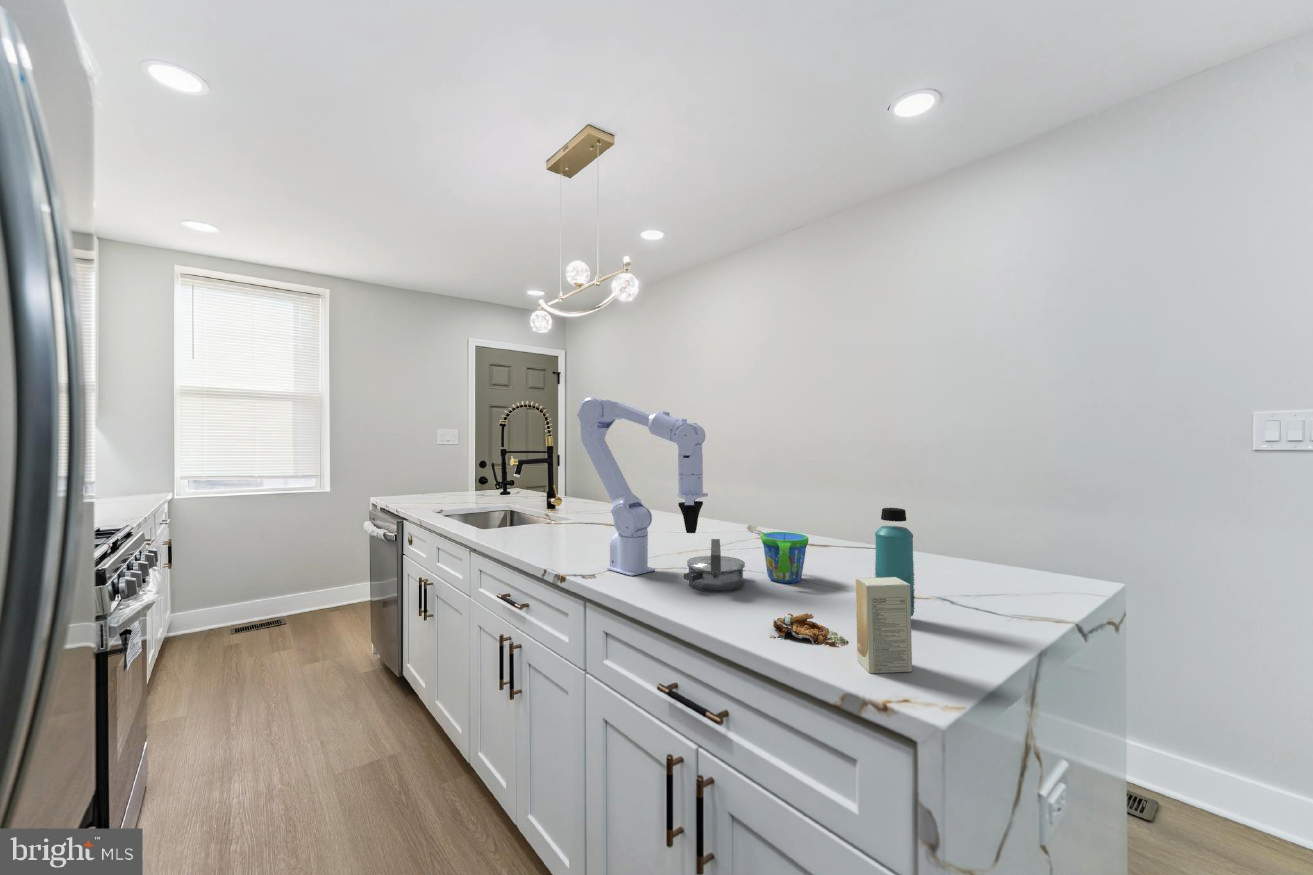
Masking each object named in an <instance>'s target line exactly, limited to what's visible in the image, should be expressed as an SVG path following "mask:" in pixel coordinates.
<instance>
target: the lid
mask: <svg viewBox="0 0 1313 875" xmlns="http://www.w3.org/2000/svg"><path fill="white" fill-rule="evenodd" d="M710 543H711V544H710V555H701V556H695V557H691V558H689V559H687V560H686V565H687V567H688V569H689V568H691V569H694V570H699V571H705V572H733V571H738V570H741V569H743V570H744V568H745V567H744V562H745V561H744V560H743V559H740V558H737V557H733V556H732V557H731V556H725V555H721V553H722V552H721V540H720V538H711V541H710Z"/></svg>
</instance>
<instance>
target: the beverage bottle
mask: <svg viewBox="0 0 1313 875" xmlns="http://www.w3.org/2000/svg"><path fill="white" fill-rule="evenodd" d="M880 515H881V516H880V520H882V521H886V522H906V521H907V514H906V509H904V508H900V507H884V508H882V509H881V514H880ZM874 537H875V561H874V575H875V578H879V577H897V578H899V579H901V580H902V581H904V582H906V583H908V584H910V602H911V617H913V616H914V613H915V608H916V606H915V605H916V602H915V601H916V600H915V599H916V594H915V592H916V588H915V587H914V586H915V581H916V579H915V575H916V574H915V571H914V570H915V562H914V534H913V533H912V531H910V530H909V529H908V528H907V527H905V526H899V525H883V526H880V527H879V528H878V529H877V530H875V532H874Z"/></svg>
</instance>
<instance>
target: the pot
mask: <svg viewBox="0 0 1313 875" xmlns="http://www.w3.org/2000/svg"><path fill="white" fill-rule="evenodd" d="M745 563H746V562H745V561H744V568H745V567H746V566H745V565H746V564H745ZM744 568H743V569H741V570H738V571H733V572H705V571H699V570H694V569H691V568H689V567H688V572H684V573H683V580H685V581H688V587H690V588H692V589H693V590H696V591H700V592H706V593H730V592H732V593H733V592H737V591H739V590H741V589H743V588H744Z"/></svg>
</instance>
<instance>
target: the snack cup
mask: <svg viewBox="0 0 1313 875" xmlns="http://www.w3.org/2000/svg"><path fill="white" fill-rule="evenodd" d="M760 536H761V538H760V539H761V540H760V541H761V544H762V545H763V552H764V559H765V567H766V568H765V569H766V572H767V577H768V579H769V580H770V581H774V582H777V583H779V584H781V583H782V584H792V583H793V584H795V583H797V582H800V581H801V580H802V577H803V570H804V565H805V559H806V553H807V552H806V551H807V546H808V544H809V536H808V535H806V534H803V533H798V532H790V531H789V532H788V531H770V532H765V533H762V534H761V535H760Z"/></svg>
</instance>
